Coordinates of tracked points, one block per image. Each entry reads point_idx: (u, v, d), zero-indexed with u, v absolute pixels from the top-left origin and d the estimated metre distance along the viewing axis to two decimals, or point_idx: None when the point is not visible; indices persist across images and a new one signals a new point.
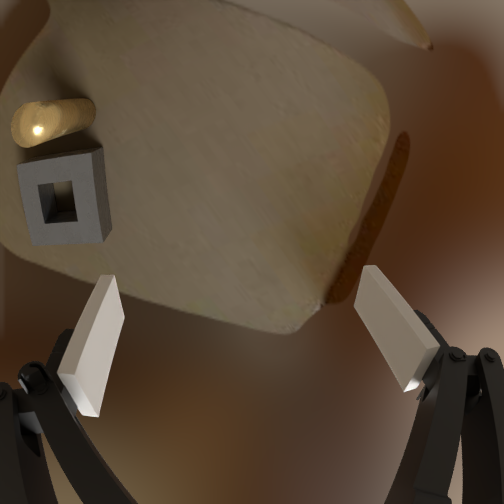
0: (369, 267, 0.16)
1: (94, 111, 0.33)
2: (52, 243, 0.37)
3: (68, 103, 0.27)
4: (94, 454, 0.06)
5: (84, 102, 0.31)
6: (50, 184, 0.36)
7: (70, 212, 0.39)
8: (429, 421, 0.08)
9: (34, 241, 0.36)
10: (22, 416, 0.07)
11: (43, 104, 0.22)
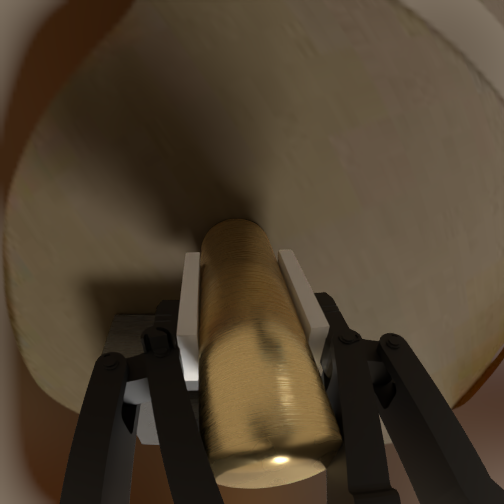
0: (283, 251, 0.17)
1: None
2: None
3: (286, 296, 0.13)
4: (196, 427, 0.08)
5: (269, 248, 0.17)
6: None
7: None
8: (339, 416, 0.08)
9: (147, 441, 0.22)
10: (136, 383, 0.10)
11: (319, 403, 0.08)
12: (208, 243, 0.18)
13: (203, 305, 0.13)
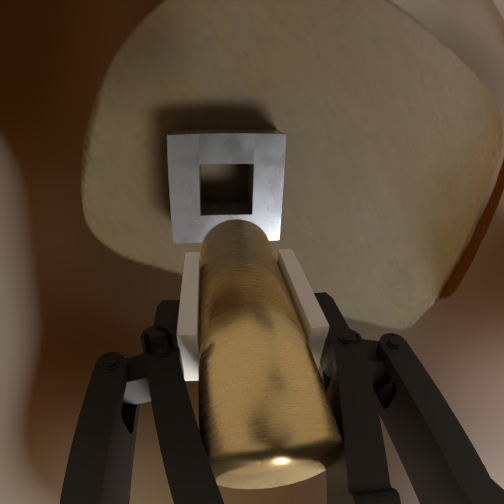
0: (283, 251, 0.17)
1: None
2: None
3: (286, 297, 0.13)
4: (196, 427, 0.08)
5: (268, 248, 0.17)
6: (200, 166, 0.34)
7: (223, 203, 0.37)
8: (339, 416, 0.08)
9: (178, 237, 0.34)
10: (136, 383, 0.10)
11: (319, 404, 0.08)
12: (208, 244, 0.18)
13: (203, 306, 0.13)
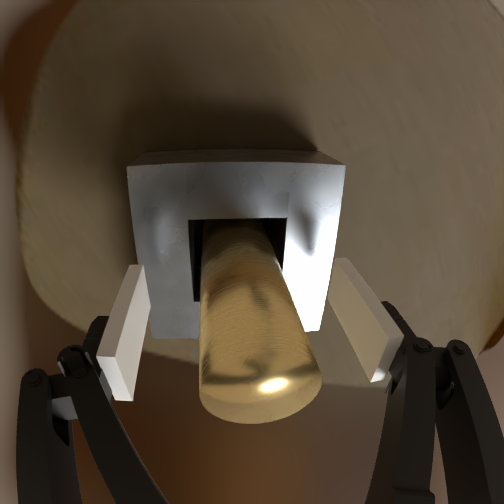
0: (340, 259, 0.16)
1: None
2: None
3: (274, 261, 0.16)
4: (127, 441, 0.07)
5: (261, 226, 0.20)
6: None
7: None
8: (400, 416, 0.08)
9: (160, 331, 0.20)
10: (58, 401, 0.08)
11: (297, 335, 0.11)
12: (209, 223, 0.20)
13: (204, 269, 0.16)
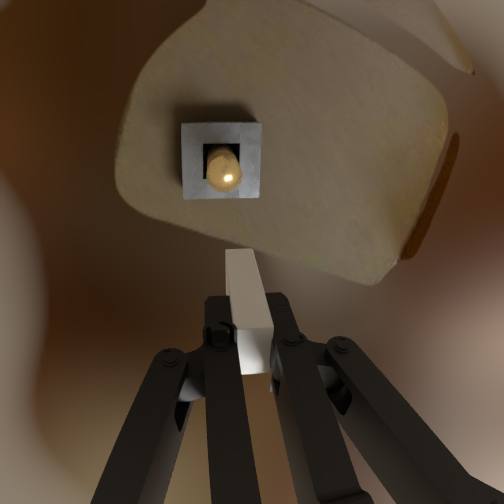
0: (243, 250, 0.17)
1: None
2: (207, 197, 0.48)
3: (233, 154, 0.43)
4: (247, 423, 0.08)
5: (231, 149, 0.47)
6: None
7: None
8: (294, 423, 0.08)
9: (187, 195, 0.48)
10: (196, 379, 0.10)
11: (234, 160, 0.38)
12: (210, 149, 0.47)
13: (208, 157, 0.43)
